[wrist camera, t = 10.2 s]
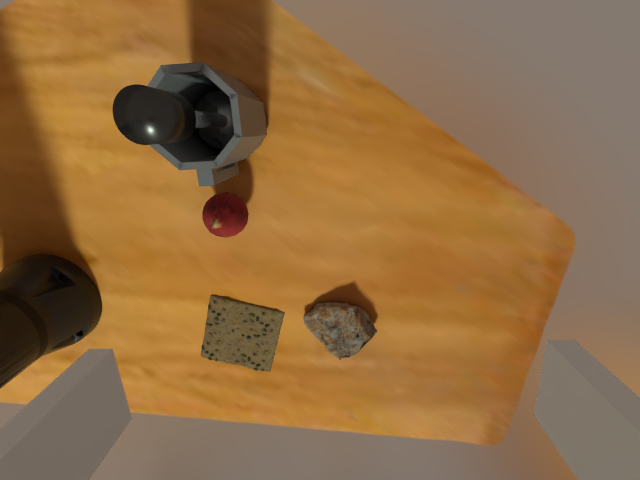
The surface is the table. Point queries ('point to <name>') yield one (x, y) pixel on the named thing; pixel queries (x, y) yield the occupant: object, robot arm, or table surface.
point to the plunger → (172, 116)
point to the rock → (340, 327)
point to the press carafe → (194, 150)
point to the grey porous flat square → (241, 333)
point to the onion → (225, 215)
